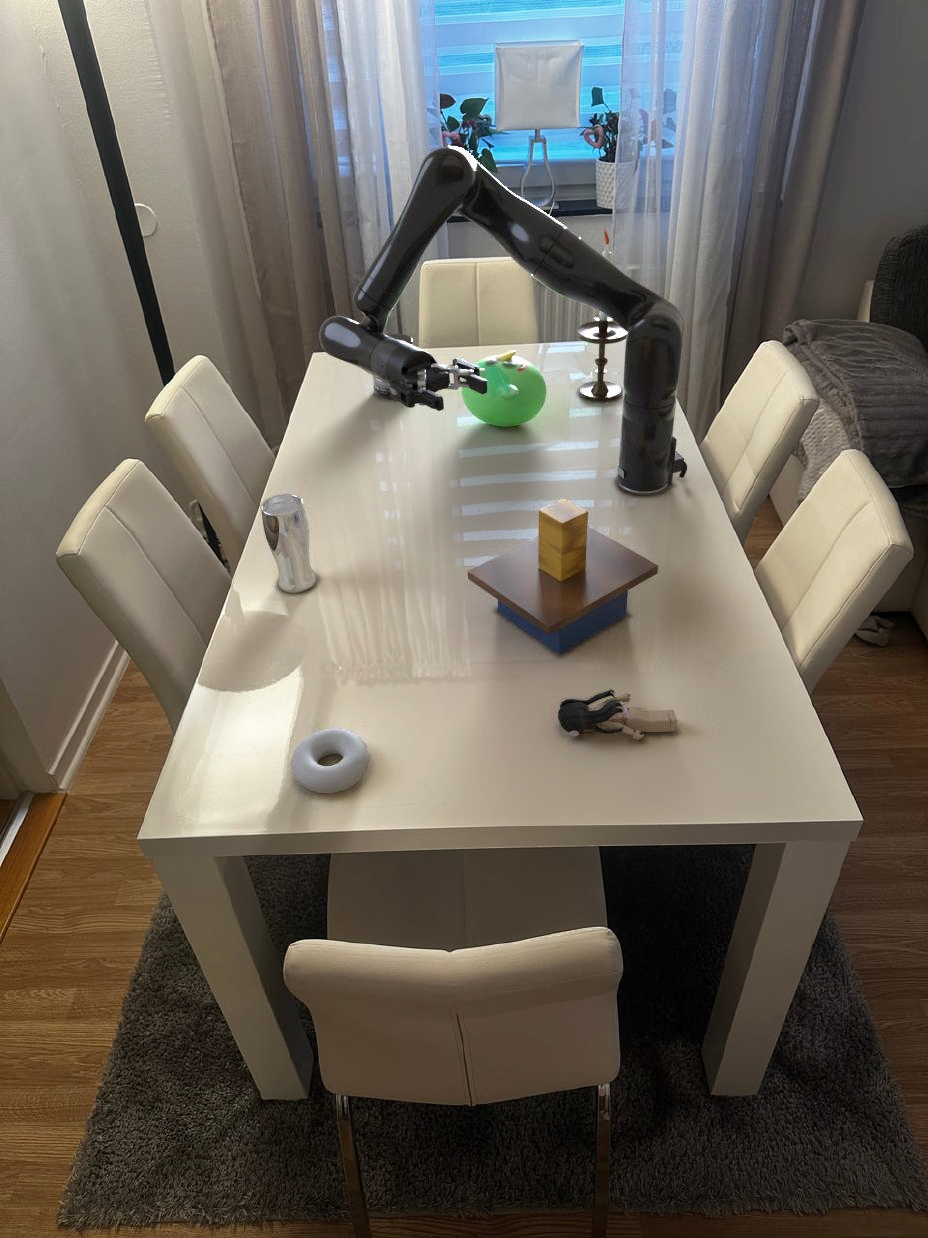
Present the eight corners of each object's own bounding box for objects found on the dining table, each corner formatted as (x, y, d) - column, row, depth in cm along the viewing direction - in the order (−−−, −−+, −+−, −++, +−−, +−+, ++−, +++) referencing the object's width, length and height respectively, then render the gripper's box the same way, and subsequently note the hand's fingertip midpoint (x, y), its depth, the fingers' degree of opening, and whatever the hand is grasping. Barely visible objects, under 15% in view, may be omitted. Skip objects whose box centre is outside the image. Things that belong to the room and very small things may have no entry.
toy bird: (558, 415, 192) (560, 348, 183) (520, 447, 181) (519, 378, 172) (487, 399, 200) (485, 335, 191) (446, 429, 189) (442, 362, 180)
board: (573, 525, 144) (574, 517, 144) (657, 573, 133) (658, 565, 132) (467, 579, 134) (467, 570, 133) (549, 635, 123) (549, 627, 122)
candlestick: (565, 394, 200) (569, 230, 179) (594, 379, 206) (601, 218, 185) (605, 407, 194) (614, 239, 173) (633, 390, 200) (646, 226, 179)
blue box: (563, 576, 146) (564, 540, 141) (626, 615, 137) (629, 578, 132) (497, 610, 139) (496, 574, 135) (559, 654, 130) (560, 616, 126)
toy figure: (659, 701, 122) (552, 710, 120) (667, 670, 117) (556, 680, 116) (674, 743, 117) (562, 753, 115) (683, 713, 112) (567, 723, 111)
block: (562, 554, 135) (564, 497, 129) (585, 568, 132) (588, 510, 126) (538, 567, 133) (538, 509, 127) (561, 582, 130) (562, 523, 124)
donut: (282, 794, 112) (358, 803, 110) (276, 776, 110) (354, 784, 108) (308, 737, 119) (380, 745, 118) (304, 719, 117) (376, 726, 115)
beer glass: (325, 573, 149) (311, 495, 140) (306, 597, 144) (291, 518, 135) (288, 567, 151) (272, 490, 142) (268, 590, 146) (250, 512, 137)
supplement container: (419, 380, 210) (415, 330, 203) (419, 399, 202) (415, 348, 195) (375, 383, 210) (369, 333, 203) (372, 402, 202) (366, 351, 195)
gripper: (364, 356, 141) (424, 386, 131) (435, 332, 148) (498, 359, 137) (369, 400, 146) (428, 433, 135) (438, 375, 152) (500, 404, 142)
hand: (464, 395), depth 136 cm, fingers open, 8 cm apart
